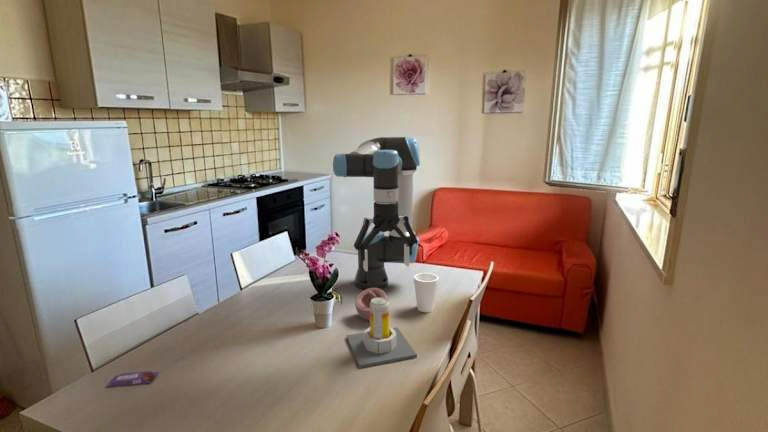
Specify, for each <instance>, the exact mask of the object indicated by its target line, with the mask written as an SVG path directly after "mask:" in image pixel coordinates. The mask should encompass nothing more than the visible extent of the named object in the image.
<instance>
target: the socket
mask: <svg viewBox="0 0 768 432" xmlns="http://www.w3.org/2000/svg"><path fill="white" fill-rule="evenodd" d="M346 340H347V342H348V345H349V346H350V350H351V351H352V353H353V356H354V358H355V360H356V362H357V364H358V368H359V369H363V368H369V367H373V366H379V365H384V364H389V363H394V362H395V363H396V362H400V361H405V360H411V359H416V358H417V357H418V354H417V353H416V352H415V350H414V349H413V347H412V346H411V345H410V343H409V342H408V340H407V339H406V337H405V336H404V335H403V333H402V332H401V330H400V329H399V328H398V326H396V327H391V326H389V338H386V339H380V340H378V339H374V338H370V326H369V327H367V329H366V330H364V331H363V332H360V333H359V332H358V333H353V334H347V335H346Z"/></svg>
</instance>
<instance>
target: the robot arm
mask: <svg viewBox="0 0 768 432" xmlns="http://www.w3.org/2000/svg"><path fill="white" fill-rule="evenodd" d="M420 165H421V156H420V148H419V142H418V139H417V138H415V137H410V136H409V137H408V136H401V137H400V136H393V137H392V136H390V137H387V136H386V137H383V136H381V137H376V138H372V139H368V140H366V141H364V142H362V143H360V144H359V145H358V147H357V148H356V149H355V150H353V151H351V152H349V153H344V152H343V153H336V154H335V155H334V156H333V160H332V171H333V174H334V175H335V176H336V177H341V178H373V201H374V202H373V217H372V218H367V217H364V218H363V222H362V224H363V225H362V226H361V229H360V231H359V233H358V235H357V237H356V240H355V242H354V244H353V247H354V249H355V250H357V260H358V261H357V265H358V266H357V271H356V274H355V277H354V286H355V287H357V288H358V289H360V290H361V289H362V290H366V289H368V288H379V289H381V290H382V289H385V288H386V287H387V286H388V284H389V278H388V277H389V276H388V274H387V271H386V268H385V263H386V264H387V263H388V264H392V263H393V264H403V265H405V266H406V267H410V264H414V263H415V262H416V260H417V255H418V247H419V242H420V241H419V240H420V238H419V236H416V235H417V234H416V232H415V231H414V229H413V208H414V207H413V198H414V197H413V196H414V195H413V192H414V186H413V185H414V183H413V182H414V177H413V176H414V174H415V172H416V171H418V170H417V167H420ZM372 224H373V225H374V226H373V227H372V228H371V231H370V232H368V231H369V228H370V227H371V225H372ZM386 232H388V235H385V233H386Z"/></svg>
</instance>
